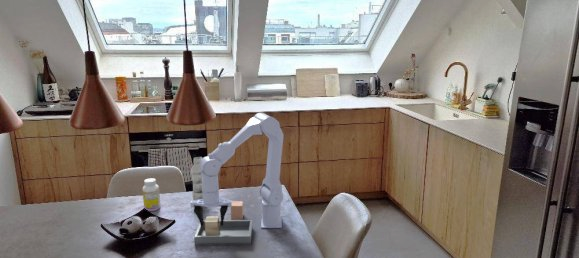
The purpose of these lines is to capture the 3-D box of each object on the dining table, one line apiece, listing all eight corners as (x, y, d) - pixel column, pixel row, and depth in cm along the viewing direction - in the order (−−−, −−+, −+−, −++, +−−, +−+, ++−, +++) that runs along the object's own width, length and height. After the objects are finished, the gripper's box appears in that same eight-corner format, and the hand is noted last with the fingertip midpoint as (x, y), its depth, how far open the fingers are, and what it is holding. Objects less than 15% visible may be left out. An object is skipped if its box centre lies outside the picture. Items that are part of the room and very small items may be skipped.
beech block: (207, 231, 151) (206, 216, 150) (219, 231, 152) (218, 216, 150) (205, 237, 147) (204, 222, 145) (218, 237, 147) (217, 221, 146)
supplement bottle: (148, 204, 176) (145, 176, 173) (163, 205, 176) (160, 177, 173) (141, 211, 170) (138, 182, 167) (156, 212, 169) (154, 183, 166)
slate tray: (201, 228, 155) (200, 220, 154) (252, 228, 156) (252, 219, 155) (194, 245, 143) (194, 236, 142) (250, 245, 144) (250, 236, 143)
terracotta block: (232, 214, 167) (232, 201, 166) (243, 214, 167) (243, 201, 166) (231, 219, 163) (230, 206, 161) (242, 219, 163) (242, 205, 161)
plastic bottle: (204, 204, 176) (202, 161, 172) (190, 203, 178) (187, 160, 173) (210, 198, 182) (208, 156, 178) (196, 197, 184) (193, 155, 179)
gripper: (187, 194, 141) (189, 230, 144) (229, 194, 141) (230, 229, 144) (191, 186, 148) (193, 220, 151) (231, 186, 148) (232, 220, 151)
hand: (212, 224), depth 148 cm, fingers open, 7 cm apart
